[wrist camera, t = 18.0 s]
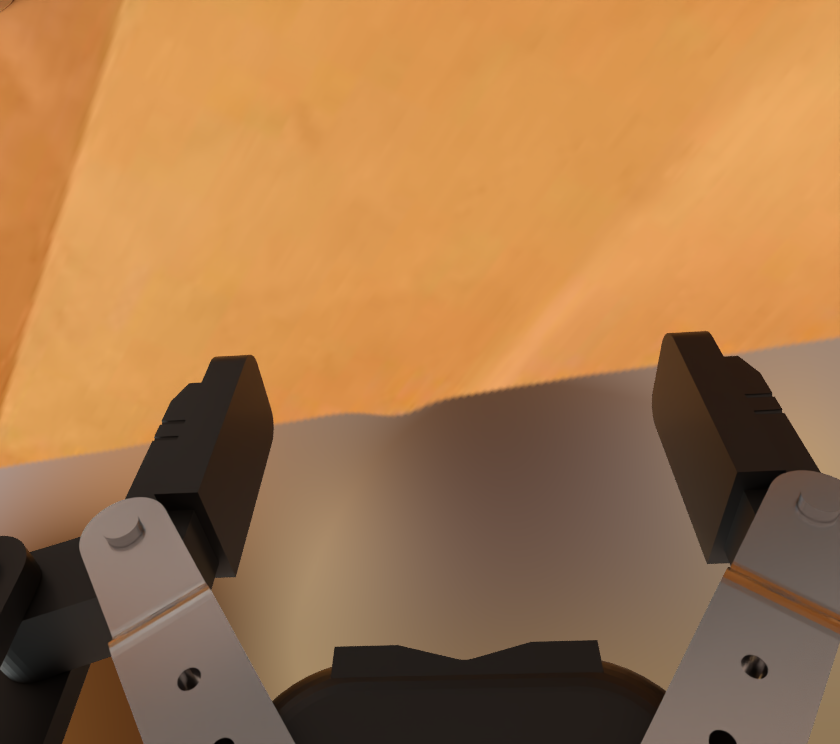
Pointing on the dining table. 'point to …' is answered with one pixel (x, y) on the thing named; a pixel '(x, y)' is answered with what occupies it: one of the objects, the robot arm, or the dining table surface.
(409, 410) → the dining table surface
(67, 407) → the dining table surface
